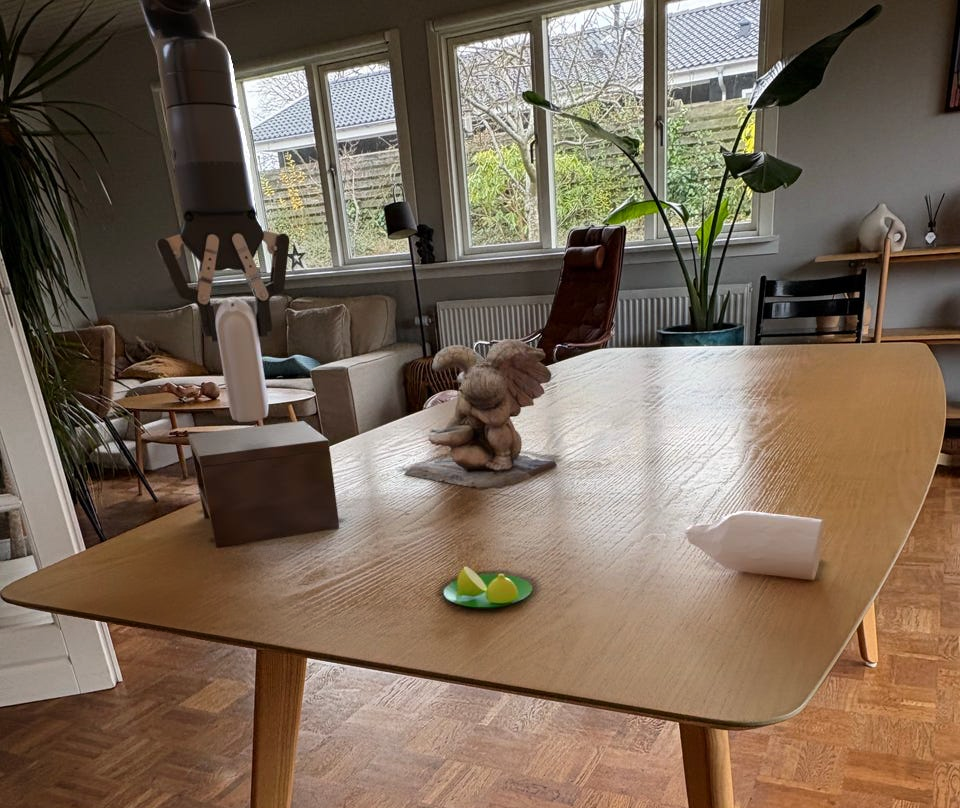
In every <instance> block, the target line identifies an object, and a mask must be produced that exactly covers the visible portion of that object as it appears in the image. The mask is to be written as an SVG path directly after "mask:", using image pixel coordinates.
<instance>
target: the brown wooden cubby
mask: <svg viewBox="0 0 960 808" xmlns="http://www.w3.org/2000/svg"><path fill="white" fill-rule="evenodd" d="M187 435H188V436H187V437H188V441H189V446H190V451H191V457H192V462H193V467H194V472H195V477H196V482H197V488H198V494H199V498H200V503H201V509H202V514H203V518H204V519H210V524H211V529H212V534H213V539H214V545H215V548H223V547H229V546H236V545H242V544H247V543H253V542H260V541H266V540H273V539H278V538H286V537H290V536H297V535H298V536H299V535H305V534H310V533H315V532H323V531H328V530H329V531H330V530H336V529H340V519H339V512H338V503H337V497H336V488H335V481H334V480H335V479H334V472H333V465H332V464H333V463H332V455H331V449H330V441H329V439H328V438H327V437H325V436H324V435H322V434H321V433H320V432H319V431H317V430H316V429H314V427H312V426H311V425H309V424H308V423H307V422H305V421H304V420H301V421H291V422H282V423H275V424H273V423H272V424H265V425H256V426H247V427H239V428H231V429H222V430H215V431H214V430H213V431H206V432H196V433H188V434H187Z"/></svg>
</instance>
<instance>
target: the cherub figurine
mask: <svg viewBox="0 0 960 808" xmlns="http://www.w3.org/2000/svg"><path fill="white" fill-rule="evenodd" d="M544 359H546V353H545V351H544V350H543V349H542V348H536V347H532V346H530V345H528V344H526V342H525V341H522V340H518V339H510V338H505V339H502V340H501V341H498V342H497V343H494V344H492V346H491V347H490V349H489V350H488V352H487V355H486V358H484V357H483V356H482V355H481V354H480V353H478V352H477V351H475V350H474V349H472V348H470V347H467V346H465V345H463V344H454V345H450V346H446V347H444V348H442V349H440V351H438V352H437V353H435V356H434V358H433V362H432V365H431V369H432V370H433V371H435V372H437V373H439V372H444V371H446V370H448V369H451V368H457V369H458V368H459V369H460V370H461V372H463V373H464V375H465V376H464V377H463V378H462V381H461V384H460V386H459V388H458V391H459V393H458V394H457V398H456V399H457V400H456V404H455V406H454V413H453V416H452V417H450V418H449V420H448V421H447V423H446V424H445V426H444V427H443V428H439V429H434V428H431V429H430V430H429V433H428V437H427V440H428V442H430V444H431V445H435V446H442V447H449V448H450V450H449V453H450V457H448V458H444V459H439V460H435V461H434V462H430V463H429V462H428V463H427V462H426V463H418V464H415V465H413V466H410V468H409V469H407V470H406V471H405V472H404V473H403V476H404V475H405V476H409V477H416V478H422V479H428V480H432V481H433V480H434V481H436V482H444V483H448V484H453V485H457V486H461V487H469V489H471V488H475V490H486V489H492V488H496V489H497V488H498V489H503V487H507V486H511V485H515V484H517V483H520V482H522V481H524V480H526V479H529V478H531V477H533V476H536V475H538V474H541V473H543V472H545V471H548V470H550V469H552V468H554V467H557V463H556V461H555V460H542V459H538V458H535V459H534V458H532V457H530V456H528V455H523V454H521V451H522V445H523V441H522V436H521V435H520V433H519V432H518V431H517V429H516V428H515V425H514V423H513V421H512V419H511V418H516V417H518V416H519V415H520V414H521V411H522V408H526V407H532V406H535V403H534V400H535V399H539V398H541V397H542V396H543V395H544V394H545V389H544V387H543V386H542V385H543V384H548V383H550V381H551V380H552V375H553V374H552V372H551V370H550V368H549V367H548V366H546V365H544V364H543V363H541V362H540V361H542V360H544Z"/></svg>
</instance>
